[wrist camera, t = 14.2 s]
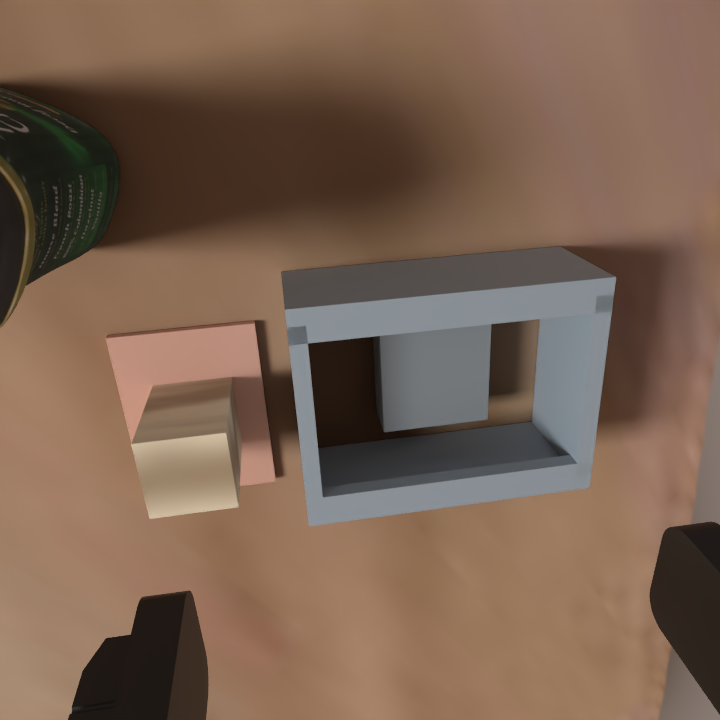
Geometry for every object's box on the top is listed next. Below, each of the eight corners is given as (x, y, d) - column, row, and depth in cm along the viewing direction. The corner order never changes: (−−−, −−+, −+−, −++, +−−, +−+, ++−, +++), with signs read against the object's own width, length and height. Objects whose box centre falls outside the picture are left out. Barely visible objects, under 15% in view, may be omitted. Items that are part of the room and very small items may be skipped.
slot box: (281, 271, 38) (285, 309, 31) (559, 246, 39) (616, 276, 33) (302, 462, 43) (309, 526, 37) (543, 431, 45) (589, 487, 39)
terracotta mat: (107, 335, 38) (105, 338, 37) (254, 320, 39) (254, 323, 38) (146, 493, 43) (145, 498, 42) (275, 477, 44) (275, 481, 43)
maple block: (152, 385, 39) (131, 443, 33) (231, 376, 39) (226, 432, 33) (167, 451, 41) (149, 518, 35) (242, 442, 41) (238, 507, 35)
